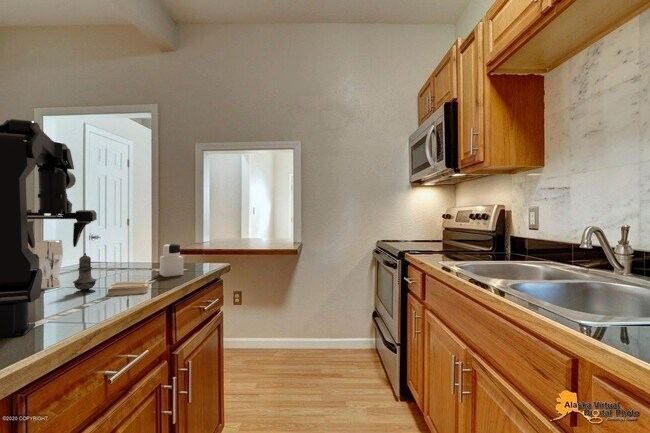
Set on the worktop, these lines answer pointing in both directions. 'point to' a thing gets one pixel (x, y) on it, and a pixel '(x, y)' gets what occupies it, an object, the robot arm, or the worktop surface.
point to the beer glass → (49, 262)
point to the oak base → (128, 288)
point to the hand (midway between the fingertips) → (54, 247)
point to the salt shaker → (84, 277)
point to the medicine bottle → (171, 261)
